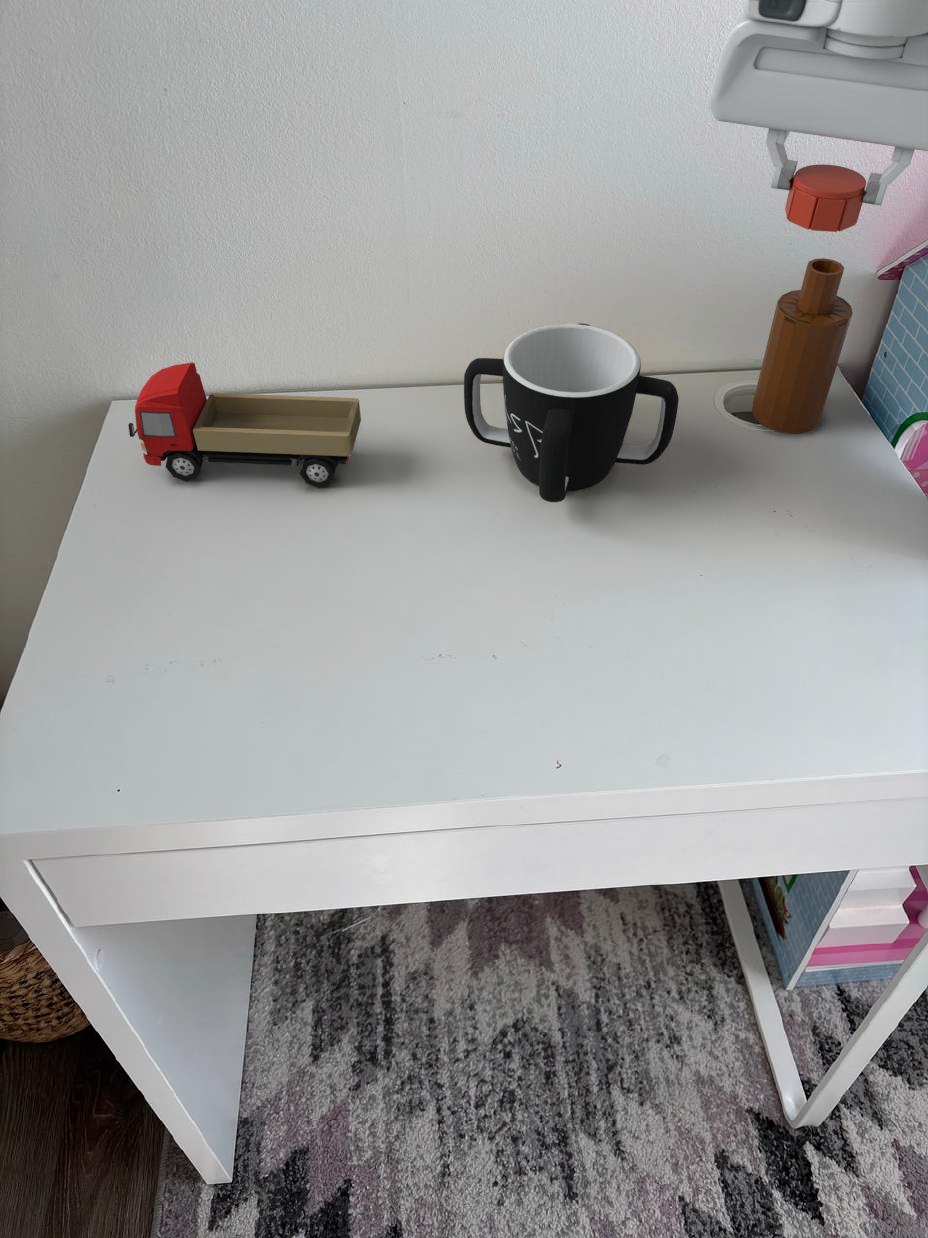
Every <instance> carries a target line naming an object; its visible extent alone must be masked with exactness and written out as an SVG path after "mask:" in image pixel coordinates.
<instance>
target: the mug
mask: <svg viewBox="0 0 928 1238" xmlns="http://www.w3.org/2000/svg"><path fill="white" fill-rule="evenodd" d="M641 361H642V360H641V357H640V354H639V352H638V351H637V349H636V348H635V347H634V346H633V345H632V343H631V342H629V341H628V340H627V339H625V338H624V337H622V336H620V335H619V334H616V333H615V332H613V331H610V330H607V329H605V328H601V327H597V326H593V325H591V324H588V323H581V322H580V323H559V324H550V325H545V326H544V325H543V326H541V327H537V328H534V329H531V330H528V331H525V332H524V333H522V334H520V335H518V336H517V337H516V338H514V339H513V340H512V341H511V342H510V343H509V344H508V346H507V347H506V349H505V351H504V353H503V358H494V357H477V358H475V359H473V360H472V361H470V363H469V364H468V365H467V367H466V369H465V372H464V375H463V405H464V414H465V418H466V421H467V425H468V426H469V428H470V430H471V432H472V434H473V435H474V436H475V437H476V439H478V440H479V441H480V442H482V443H485V444H488V445H493V446H499V447H503V448H508V449H509V448H510V449H511V453H512V455H513V456H512V457H513V459H514V462H515V464H516V467H517V469H518V470H519V472H520V473H521V475H522V476H523V477H524V478H525V479H526V480H527V481H529V482H530V483H532V484H534V485H535V486H538V491H539V492H538V493H539V496H540V498H541V499H542V500H544V501H545V502H549V503H560V502H562V501H564V500H565V499H566V497H567V493H568V492H578V491H584V490H587V489H590V488H593V487H595V486H596V485H598V484H600V483H601V482H603V481H604V480H605V478H607V476H608V475H609V474H610V472H611V471H612V469H613V467H614V465H615V464H617V463H618V464H625V465H626V464H627V465H642V466H643V465H649V464H652V463H654V462H655V461H657V460H658V459H659V458H660V457H661V456H662V455H663V454H664V453H665V451H666V450H667V449H668V447H669V445H670V443H671V441H672V439H673V434H674V431H675V426H676V421H677V415H678V409H679V402H680V399H679V398H680V397H679V393H678V390H677V388H676V386H675V385H674V384H673V382H672V381H669V380H667V379H666V380H665V379H662V378H656V377H652V376H646V375H640V374H641V369H642V368H641V367H642V362H641ZM482 375H483V376H484V375H485V376H493V377H501V378H502V388H503V389H502V390H503V403H504V413H505V419H506V426H507V428H504V427H498V426H494V425H490V424H489V423H488V422H487V421H486V419H485V417H484V414H483V412H482V405H481V377H482ZM637 394H638V395H645V396H651V397H658V398H661V401H660V402H661V404H660V405H661V407H660V412H659V419H658V424H657V428H656V433H655V435H654V438H653V439H652V441H651V442H650V443H649V444H648V445H644V446H643V445H642V446H639V445H629V444H628V445H627V444H624V440H625V438H626V435H627V431H628V427H629V425H630V422H631V418H632V415H633V411H634V406H635V402H636V397H637Z"/></svg>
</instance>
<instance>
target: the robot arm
mask: <svg viewBox="0 0 928 1238" xmlns="http://www.w3.org/2000/svg"><path fill="white" fill-rule="evenodd" d="M742 9H743V15H742V16H741V17H740V18H739V20H738V21H737V22H736V23H735V25H734V26H733V28H732V29H731V30H730V31H729V33H728V34H727V37H726V39H725V41H724V44H723V47H722V49H721V52H720V55H719V58H718V62H717V65H716V69H715V73H714V77H713V80H712V85H711V90H710V94H709V100H708V108H709V109H710V112H711V114H712V115H713V118H714V119H715V120H716V121H719V122H722V123H723V122H724V123H728V124H729V123H731V124H737V125H743V126H751V127H756V128H757V127H759V128H764V129H768V130H767V135H766V140H765V145H766V147H767V150H768V153H769V157H770V159H771V163H772V165H773V167H774V170H773V176H772V179H771V183H770V188H771V189H775V190H782V191H783V190H784V191H789V190H790V188H791V183H792V178H793V177H794V176H795V173H796V171H797V168H798V162H799V161H798V160H794V159H793V160H792V159H789V157H788V155H787V151H786V147H785V143H786V141H787V139H788V137H789V135H790V132H793V133H798V134H806V135H812V136H819V137H827V138H832V139H840V140H846V141H847V140H848V141H854V142H861V143H867V144H873V145H882V146H887V147H894V149H893V152H892V156H891V159H890V160H891V161H892V162H891V163H890V164H889V165H888V166H887V167H886V168H885V170H884V171H883V172H882V173H879V172H878V173H877V172H870V173H869V174H870V175H869V176H868V180H867V182H866V186H865V194H864V196H863V200H862V204H868V205H873V206H880V207H881V206H882V204H883V200H884V198H885V195H886V191H887V188H888V185H890V184H892V182H894V180H896V179H897V178H898V176H900V174H902V173H903V172H904V171H905V170H906V169H907V168H908V167H909V166H910V165H911V162H912V160H913V155H914V154H915V150H916V151H923V152H928V0H743V5H742Z"/></svg>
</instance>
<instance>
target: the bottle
mask: <svg viewBox="0 0 928 1238" xmlns="http://www.w3.org/2000/svg"><path fill="white" fill-rule="evenodd" d="M844 272H845V266H844V265H843V264H842V263H841V262H839V261H838V260H834V259H830V258H825V257H824V258H823V257H822V258H814V259H811V260H809V261H808V262H807V265H806V268H805V272H804V276H803V280H802V283H801V288H800V289H796V290H791V291H788V292H786V293H784V294H782V295H781V296H780V297H779V298H778V300H777V301H776V305H775V310H774V314H773V318H772V322H771V325H770V331H769V334H768V339H767V343H766V346H765V347H766V348H765V351H764V356H763V359H762V363H761V367H760V371H759V375H758V379H757V384H756V389H755V391H754V392H755V393H754V395H753V400H752V407H751V413H752V416H753V418H754V419H755V420H756V421H757V423H759V424H760V425H762V426H763V427H765V428H767V429H769V430H771V431H774V432H777V433H783V434H802V433H806V432H808V431H811V430H813V429H814V428H816V427H817V426H818V424H819V423H820V420H821V418H822V416H823V413H824V409H825V405H826V403H827V399H828V396H829V392H830V389H831V386H832V383H833V379H834V376H835V372H836V370H837V368H838V367H837V366H838V363H839V360H840V356H841V353H842V350H843V347H844V345H845V344H844V343H845V340H846V337H847V334H848V330H849V327H850V324H851V321H852V317H853V314H854V312H853V308H852V305H851V304H850V303H849V302H848V301H846V299H844V298H843V297H841V296H839V295H838V292H839V289H840V285H841V281H842V279H843V275H844Z"/></svg>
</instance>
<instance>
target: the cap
mask: <svg viewBox="0 0 928 1238" xmlns="http://www.w3.org/2000/svg"><path fill="white" fill-rule="evenodd" d="M794 175H795V176H794V177H793V178H792V183H791V188H790V190H788V194H787V198H786V202H785V206H784V212H785V217H786V220H788V222H789V223H792V224H794V225H796V226H799V227H800V228H803V229H805V230H808V231H809V230H810V231H815V232H830V233H831V232H832V233H837V232H842V231H845V230H847V229H850V228H852V227H854V226H856V225H857V223H858V219H859V216H860V214H861V210H862V206H863V203H862V200H863V196H864V194H865V190H866V186H867V180H866V177H864V176H863V175H862V174H861V173H860V172H858V171H856V170H854V169H851V168H848V167H845V166H842V165H841V166H840V165H834V164H823V163H822V164H811V165H806V166H803V167H800V168H799V169H798V170H797V169H796V171H795V173H794Z"/></svg>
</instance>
